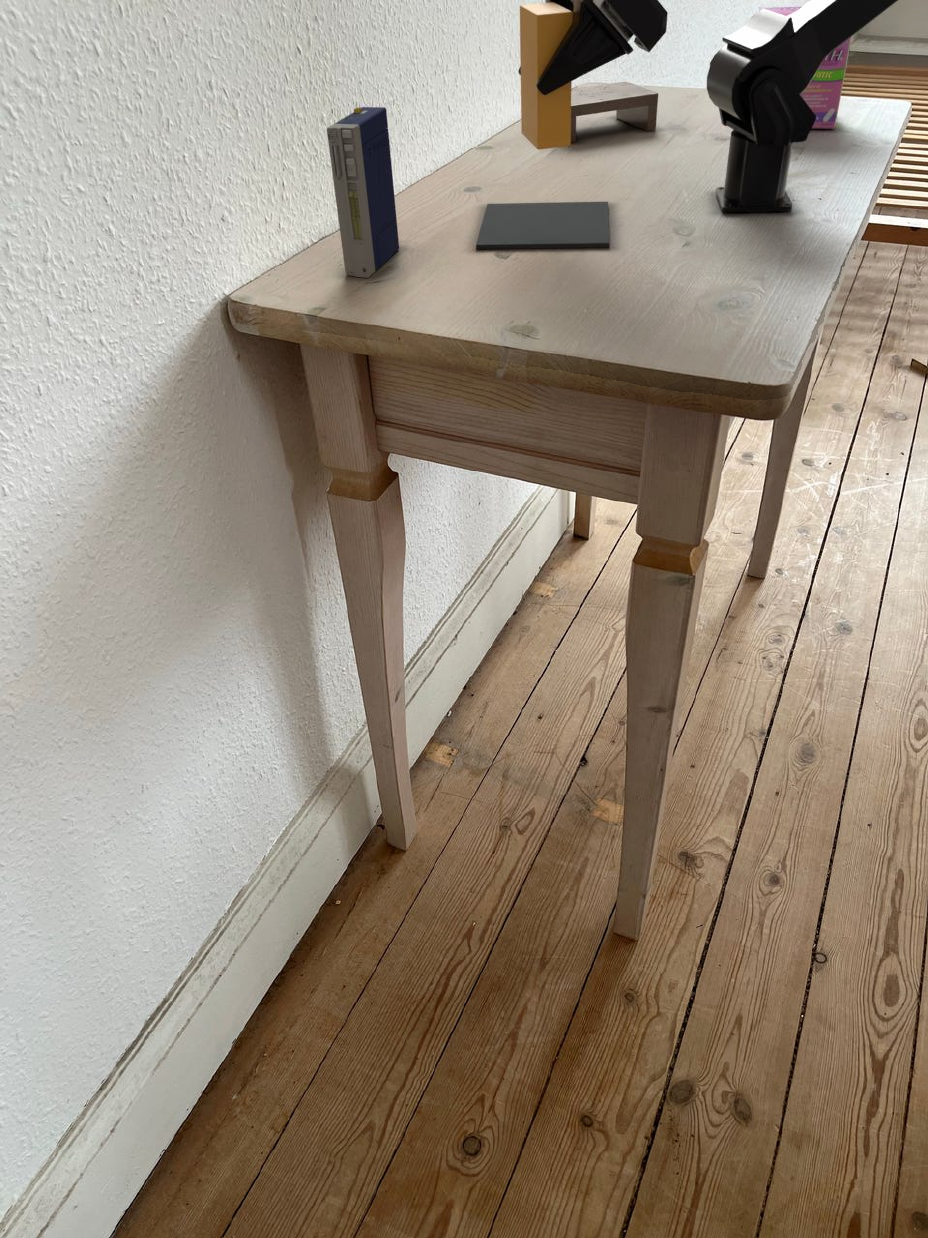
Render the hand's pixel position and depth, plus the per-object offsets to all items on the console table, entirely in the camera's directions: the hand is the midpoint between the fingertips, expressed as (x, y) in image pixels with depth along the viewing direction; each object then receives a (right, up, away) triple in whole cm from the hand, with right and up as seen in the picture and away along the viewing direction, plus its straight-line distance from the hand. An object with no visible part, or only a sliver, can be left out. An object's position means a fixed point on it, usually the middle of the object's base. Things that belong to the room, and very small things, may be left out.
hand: (530, 83), depth 81 cm
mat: (+2, -9, +8) cm, 12 cm away
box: (+34, +13, +32) cm, 48 cm away
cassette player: (-14, -15, +3) cm, 20 cm away
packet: (+2, -3, +3) cm, 5 cm away
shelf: (+11, +14, +35) cm, 39 cm away
